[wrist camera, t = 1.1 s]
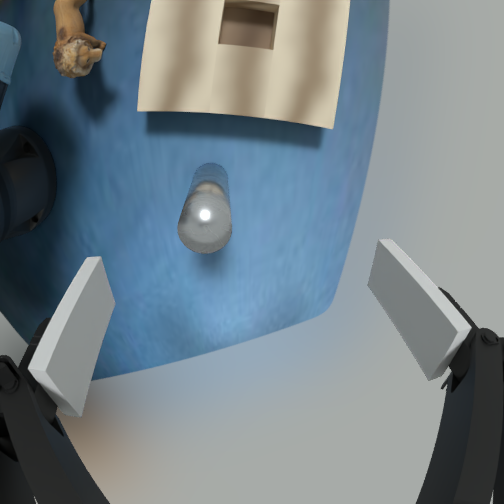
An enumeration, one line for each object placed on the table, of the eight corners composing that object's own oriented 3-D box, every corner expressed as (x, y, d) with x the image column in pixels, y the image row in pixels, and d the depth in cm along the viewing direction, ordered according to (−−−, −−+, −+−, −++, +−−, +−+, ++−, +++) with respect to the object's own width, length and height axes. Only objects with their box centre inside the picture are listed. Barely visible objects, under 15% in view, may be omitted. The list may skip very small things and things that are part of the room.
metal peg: (192, 194, 34) (177, 252, 22) (194, 161, 32) (178, 202, 20) (226, 196, 35) (229, 255, 23) (229, 164, 33) (234, 205, 21)
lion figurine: (126, 66, 26) (95, 58, 18) (88, 89, 26) (49, 90, 18) (93, -20, 19) (62, -43, 11) (58, 3, 19) (20, -12, 11)
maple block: (146, 109, 29) (137, 111, 25) (170, -40, 19) (164, -53, 16) (320, 125, 31) (332, 129, 28) (339, -18, 22) (352, -29, 18)
